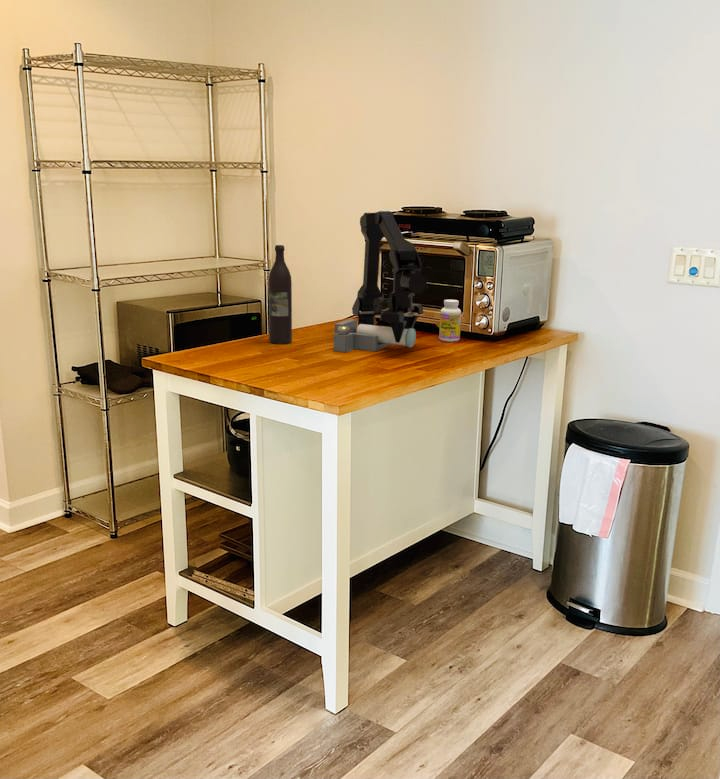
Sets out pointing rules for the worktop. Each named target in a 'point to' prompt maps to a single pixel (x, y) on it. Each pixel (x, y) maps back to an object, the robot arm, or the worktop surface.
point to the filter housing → (355, 339)
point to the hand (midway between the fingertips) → (401, 340)
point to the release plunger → (343, 330)
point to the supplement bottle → (450, 321)
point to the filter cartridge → (388, 334)
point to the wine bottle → (280, 300)
